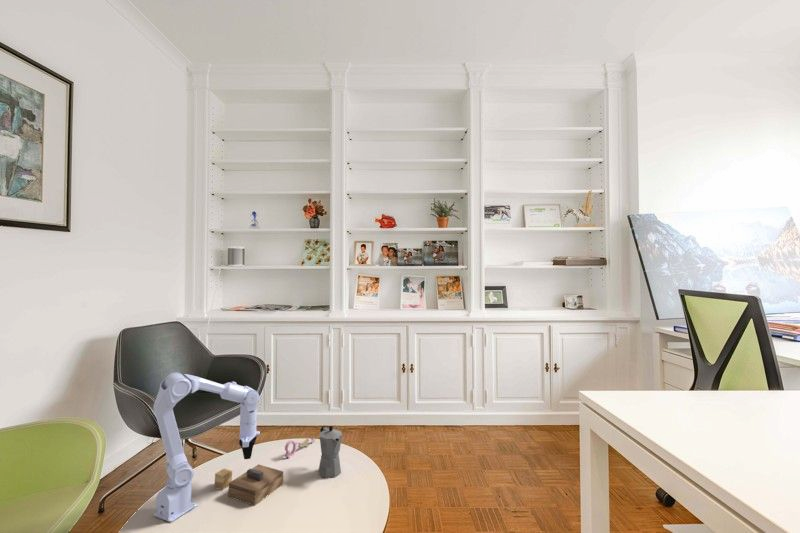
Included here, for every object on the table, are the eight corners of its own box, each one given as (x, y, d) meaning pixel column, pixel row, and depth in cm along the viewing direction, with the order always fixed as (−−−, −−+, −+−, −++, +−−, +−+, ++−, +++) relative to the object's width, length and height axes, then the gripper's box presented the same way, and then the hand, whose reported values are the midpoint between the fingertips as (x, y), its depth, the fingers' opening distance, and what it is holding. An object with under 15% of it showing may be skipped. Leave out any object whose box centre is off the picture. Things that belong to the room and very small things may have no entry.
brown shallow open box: (254, 505, 124) (255, 495, 124) (228, 496, 129) (228, 486, 129) (283, 484, 137) (283, 474, 137) (258, 476, 142) (258, 467, 142)
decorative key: (316, 448, 172) (285, 459, 155) (313, 447, 173) (283, 458, 155) (317, 432, 174) (287, 442, 156) (315, 432, 174) (285, 441, 157)
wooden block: (222, 490, 133) (223, 476, 133) (214, 487, 134) (215, 473, 134) (231, 484, 136) (232, 470, 137) (223, 482, 138) (224, 468, 138)
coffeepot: (348, 476, 144) (349, 429, 144) (325, 483, 138) (327, 435, 139) (330, 459, 156) (332, 416, 157) (309, 466, 151) (310, 421, 151)
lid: (255, 494, 124) (255, 483, 124) (228, 485, 129) (229, 475, 129) (283, 474, 137) (283, 464, 137) (258, 467, 142) (258, 457, 142)
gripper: (257, 428, 131) (257, 466, 131) (261, 413, 145) (260, 448, 145) (236, 430, 129) (235, 469, 129) (242, 414, 143) (241, 450, 143)
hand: (247, 458), depth 137 cm, fingers closed
